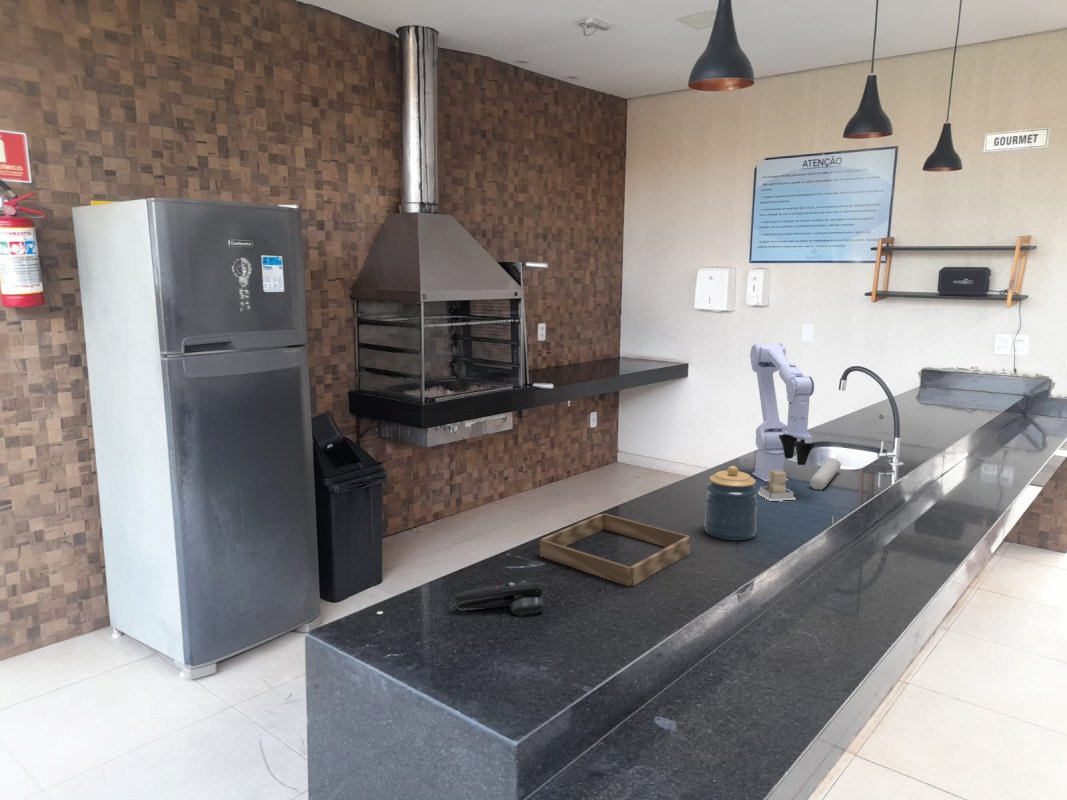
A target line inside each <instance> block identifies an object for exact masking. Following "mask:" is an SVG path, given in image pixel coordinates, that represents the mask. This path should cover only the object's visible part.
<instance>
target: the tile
mask: <svg viewBox="0 0 1067 800" xmlns="http://www.w3.org/2000/svg"><path fill="white" fill-rule="evenodd" d="M758 494H759V496H760V497H761V496H762V497H761V498H763V497H764V498H765V500H766V499H767V500H769V501H779V502H784V501H783V500H795V501H796V497H794V496H793V498H782V499H771V498H768V497H766V496H765V495H763V494H761V493H760V490H759V492H758V493H757V494H756V495H758ZM764 498H763V499H764ZM767 500H766V501H767ZM769 501H768V502H769Z"/></svg>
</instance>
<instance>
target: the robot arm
mask: <svg viewBox="0 0 1067 800" xmlns="http://www.w3.org/2000/svg"><path fill="white" fill-rule="evenodd" d="M750 348H751V349H750V354H749V355H750V356H749V357H750V364H751V370H752V371H753V372H755V373H756V377H757V384H758V392H759V400H760V406H761V414H762V421H763V422H762V423H761V424H760V425H758V426H757V428H755V445H756V448H757V449H758V451H757V452H756V454H755V467H754V468H755V469H754V472H752V475H754V476H755V477H757V478H758V479H760V480H762V481H764V483H765V482H766V483H767V482H768V483H769V473H770V470H782V471H783V472H784V465H785V459H793V457H794V454H795V453H794V452H795V451H796V462H797V465H798V466H806V463H807V461H808V458H809V456H810V453H811V451H812V449H813V448H814V447H815V446H816V443H815V442H813V440H814V439H813V436H812V435H811V434H810V433H809V432H808V428H809V427H808V425H809V411H810V400H811V399H810V397H811V396H813V394H814V392H815V382H814V379H813V377H812V376H811V375H809V376H808V375H804V374H803V372H802V371H801V370H800V369H799V368H798V366H797V365H796V364H795V363H794V362H793V363H792V362H790V361H789V360H788V358H787V356H786V355H787V350H786V346H785V345H784V343H781V342H779V343H754V344H753V345H751V347H750ZM776 372H778V375H779V377H780V379H781V380H782V381H783V383H784V384H785V390H786V395H787V396H786V400H787V401H788V410H787V422H786V424H785V423H783V422H782V421H781V420H780V414H779V408H778V401H777V395H776V388H775V381H774V373H776ZM795 449H796V450H795ZM788 481H789V479H788V478H787V477H786V482H788Z"/></svg>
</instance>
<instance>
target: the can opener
mask: <svg viewBox="0 0 1067 800" xmlns="http://www.w3.org/2000/svg"><path fill="white" fill-rule="evenodd" d="M543 591H544V589H543V585H542V584H541V583H540V582H538V581H534V582H533V581H531V582H527V581H526V580H521V581H520V582H519V583H517V582H515V583H514V582H508V583H507V584H506V583H504V584H499V585H498V584H497V585H492V586H487V587H485V586H484V587H481V588H480V587H479V588H475V589H470V590H466V591H463V592H459V593H457V594H456V595H455V596H454V599H455V601H457V602H461V603H459V604H458V605H456V607H458V608H463V609H464V608H469V609H470V608H489V609H493V608H498V607H503V606H508V608H509V611H511V614H512V613H513V614H512V615H514V614H532V615H534V613H535V614H539V613H540V612H542V611H544V610H545V604H546V601H545V600H544V598H542V595H543Z"/></svg>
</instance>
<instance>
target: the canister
mask: <svg viewBox="0 0 1067 800" xmlns="http://www.w3.org/2000/svg"><path fill="white" fill-rule="evenodd" d="M709 481H710V482H708V483H707V484H706V485H705V489H706V490H707V496H706V497H705V498H704V499H705V500H704V501H705V516H704V521H703V522H704V524H703V526H704V530H705V533H706V534H707V535H708V536H711V537H713V538H716V539H720V540H724V541H725V540H726V541H733V542H734V541H747V540H751V539H753V538H754V537H755V535H756V531H757V511H758V505H759V502H758V500H757V495H758V494H757V493H758V492H759V491H760V489H758V487H757V486H756V485H755V484H756V479H755V478H754V477H752V476H751V475H750V474H748V473H746V472H743V471H739V469H738V467H737V466H736V465H730V466H729V467H728V468H727V470H720V471H717V472H715V473H714V474H712V475H710V476H709Z"/></svg>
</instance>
